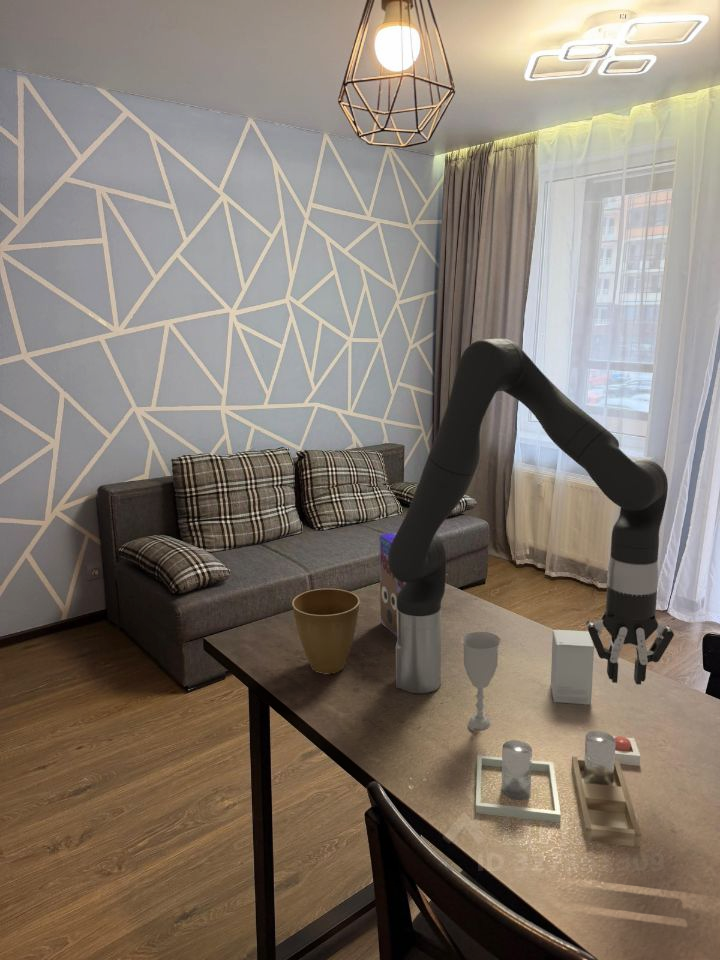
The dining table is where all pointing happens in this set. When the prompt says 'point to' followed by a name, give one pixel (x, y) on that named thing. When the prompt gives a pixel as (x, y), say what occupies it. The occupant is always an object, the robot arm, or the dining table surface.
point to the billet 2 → (599, 758)
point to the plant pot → (326, 626)
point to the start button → (622, 744)
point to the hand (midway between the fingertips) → (625, 680)
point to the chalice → (480, 669)
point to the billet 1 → (516, 769)
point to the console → (629, 754)
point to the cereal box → (388, 585)
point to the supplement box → (572, 666)
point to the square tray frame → (512, 810)
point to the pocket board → (606, 808)
